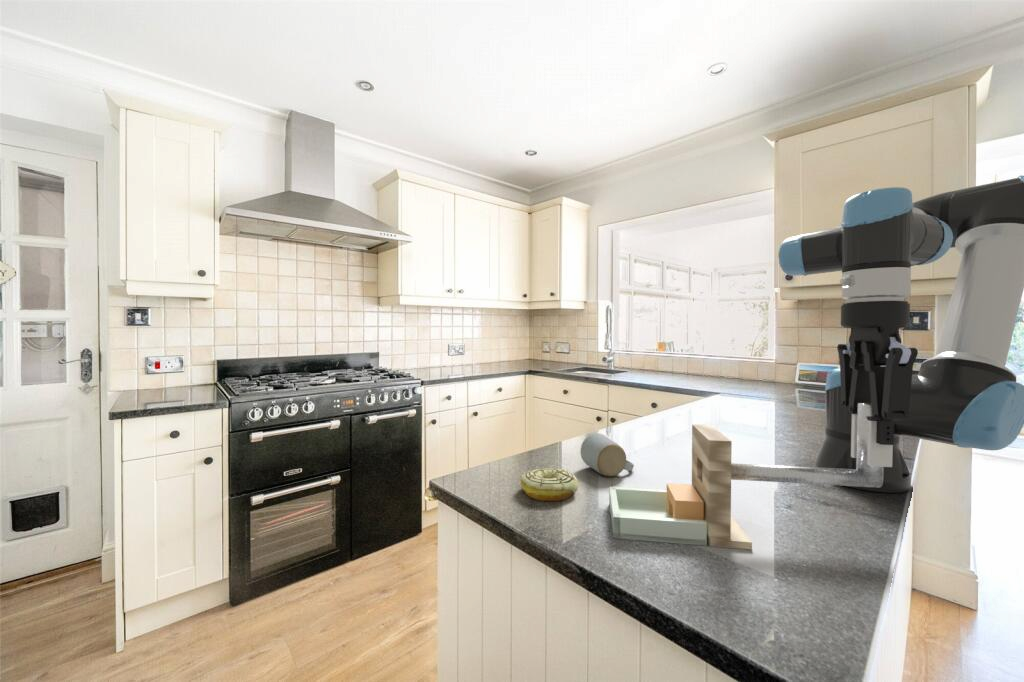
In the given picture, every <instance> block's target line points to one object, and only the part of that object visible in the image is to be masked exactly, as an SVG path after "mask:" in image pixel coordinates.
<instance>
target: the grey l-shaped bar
mask: <svg viewBox="0 0 1024 682" xmlns="http://www.w3.org/2000/svg"><path fill="white" fill-rule="evenodd" d="M866 416H872V404H871V402H858V409H857V460H856V469H837V468H816V467H813V466H792V465H773V464H772V465H770V464H752V463H751V464H750V463H749V464H748V463H732V462H731V481H733V480H734V481H735V480H737V481H748V482H749V481H750V482H751V481H752V482H769V483H771V482H772V483H785V484H786V483H788V484H789V483H791V484H808V485H821V486H823V485H826V486H827V485H828V486H840V487H843V486H845V487H848V486H858V487H877V488H880V487H881V486H882V485H883V467H878V466H869V465H867V435H868V419H867V417H866Z"/></svg>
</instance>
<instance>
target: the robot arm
mask: <svg viewBox="0 0 1024 682" xmlns="http://www.w3.org/2000/svg"><path fill="white" fill-rule="evenodd" d="M840 224H841V225H840V226H835V227H832V228H831V227H830V228H827V229H824V230H819V231H815V232H809V233H801V234H799V235H796V236H791V237H788V238H786V239H784V240H783V242H781V244H780V246H779V248H778V249H779V250H778V253H777V254H778V256H777V257H778V262H779V263H778V264H779V267H780V268H781V271H782V272H784V274H785V275H788V276H791V277H795V276H796V277H797V276H799V277H800V276H804V277H806V276H808V275H809V276H811V275H818V274H826V273H833V272H841V273H842V274H841V279H840V280H839V283H840V285H841V299H843V300H846V302H844V303H842V305H841V306H840V326H841V327H842V328H844V329H850V334H849V337H848V342H847V343H839V344H837V347H836V348H837V349H836V350H837V353H838V357H839V368H838V367H837V368H834V369H831V370H829V371H828V373H827V375H826V380H825V381H826V382H825V388H824V392H825V394H824V395H825V396H824V397H825V402H824V403H825V404H824V406H825V407H824V410H825V411H824V413H825V414H824V415H825V416H824V418H825V419H824V420H825V421H824V426H825V428H824V429H825V430H824V438H823V441H822V444H821V446H820V447H819V450H818V452H817V455H816V457H815V459H814V464H813V465H814V467H816V468H837V469H856V460H857V409H858V402H871V404H872V416H866V417H867V419H868V435H867V465H869V466H878V467H883V485H882V486H881V487H880V488H877V487H858V486H847V487H848V488H851V489H856V490H857V489H858V490H863V491H868V492H877V493H890V494H891V493H893V494H895V493H904V492H908V491H910V490H911V487H912V476H911V473H910V471H909V468H908V466H907V464H906V463H907V462H906V461H905V458H904V455H903V453H902V449H901V447H900V436H903V437H908V438H914V439H919V440H926V441H930V442H935V443H941V444H946V445H953V446H957V447H958V448H962V449H963V448H964V449H976V450H983V451H999V450H1003V449H1005V448H1007V447H1008V446H1010V445H1012V444H1013V442H1015V441H1016V439H1017V438H1018V437H1019V435H1020V433H1021V432H1022V429H1023V427H1024V385H1023V383H1021V382H1020V383H1019V382H1017V375H1016V374H1015V373H1014V372H1013V371H1012V370H1011V369H1009V368H1008V367H1007V366H1006V365H1007V361H1008V357H1009V356H1008V355H1009V351H1010V347H1011V343H1012V339H1013V335H1014V331H1015V330H1014V329H1015V326H1016V322H1017V318H1018V314H1019V311H1020V310H1019V309H1020V306H1021V302H1022V297H1023V292H1024V175H1018V176H1017V177H1016V178H1010V179H1005V180H1001V181H995V182H991V183H986V184H980V185H975V186H972V187H966V188H961V189H957V190H953V191H947V192H942V193H937V194H934V195H932V196H929V197H926V198H922V199H920V200H917V201H914V202H913V193H912V191H911V190H910V189H909V188H906V187H900V186H895V187H894V186H891V187H883V188H877V189H870V190H868V191H867V190H866V191H863V192H860V193H857V194H854V195H852V196H851V197H849V198H848V199H847V200H846V201H845V202H844V205H843V212H842V222H841V223H840ZM952 248H955V249H956V250H957V251H958V253H960V254H961V255H962V257H961V260H960V263H959V267H958V272H957V275H956V279H955V281H954V286H953V290H952V293H951V297H950V300H949V304H948V308H947V312H946V316H945V319H944V322H943V326H942V330H941V333H940V337H939V340H938V345H937V348H936V352H935V355H934V356H933V357H931V358H928V359H926V360H923V362H921V363H920V368H919V371H918V373H917V374H913V370H914V369H913V368H914V365H915V362H916V359H917V357H918V354H919V353H918V352H919V351H918V349H917V348H916V347H906V346H905V345H903V344H902V339H901V336H900V329H903V328H907V327H909V326H910V320H911V319H910V317H911V316H910V315H911V303H909V302H908V301H905V299H906V298H909V296H911V295H912V293H911V292H912V291H911V290H912V289H911V287H912V286H911V285H912V281H911V279H912V277H911V276H912V268H911V267H914V266H924V265H928V264H931V263H934V262H936V261H938V260H940V259H941V258H943V256H945V255H946V254H947V253H948V251H949V250H950V249H952Z"/></svg>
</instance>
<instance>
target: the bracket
mask: <svg viewBox="0 0 1024 682" xmlns="http://www.w3.org/2000/svg"><path fill="white" fill-rule="evenodd" d="M691 430H692V431H691V485H693V487H694V488H695V490H696V491H697V493H698V494H699V496H700V497H701V499H702V500H703V502H704V521H705V522H706V523H707V543H708V544H709V547H715V546H718V547H719V546H721V547H719V548H728V547H730V548H729V549H740V550H741V549H742V550H753V541H751V539H750V538H749V537H748V535H747V534H746V532H745V531H744V530H743V528H741V526H740V525H739V523H738V522H737V521H736V519H735V517H733V515H732V480H731V463H732V448H733V447H732V440H731V439H730V438H729V437H727V436H726V435H724V434H723V433H722V432H721V431H719V430H718V429H717V428H716V427H715V426H713V425H712V424H692V426H691ZM731 547H732V548H731Z"/></svg>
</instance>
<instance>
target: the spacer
mask: <svg viewBox="0 0 1024 682" xmlns="http://www.w3.org/2000/svg"><path fill="white" fill-rule="evenodd" d="M666 490H667V512H668V514H669V515H673V518H676V519H690V520H703V521H704V502H703V500H702V499H701V497H700V496H699V494H698V493H697V491H696V490H695V488H694V487H693V485H692V484H690V483H689V484H684V483H669V482H667V483H666Z"/></svg>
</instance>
